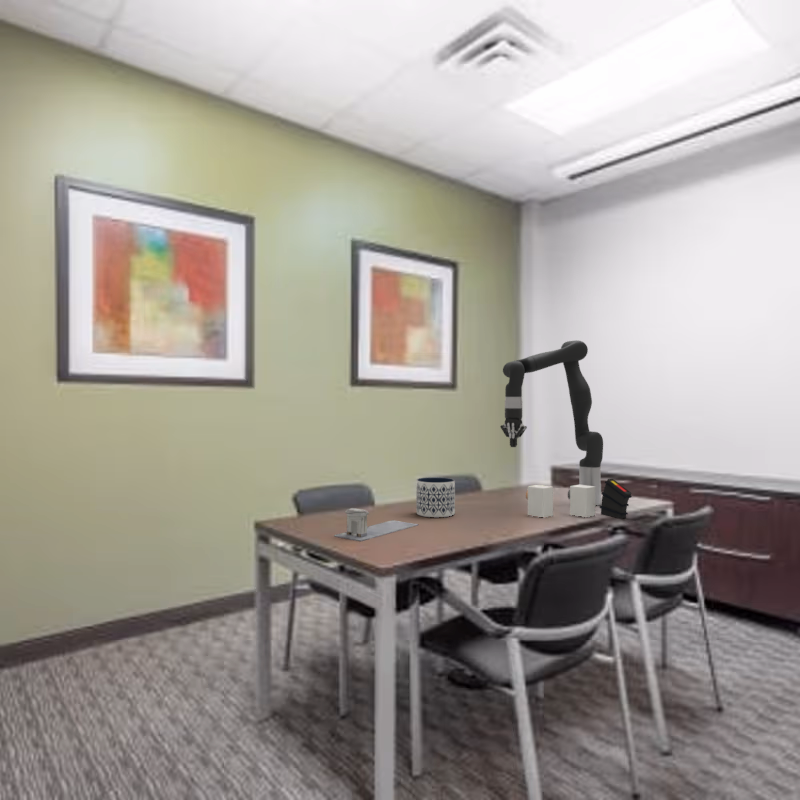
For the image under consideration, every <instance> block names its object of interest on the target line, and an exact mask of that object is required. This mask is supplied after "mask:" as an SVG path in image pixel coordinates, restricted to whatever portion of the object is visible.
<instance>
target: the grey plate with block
mask: <svg viewBox="0 0 800 800" xmlns="http://www.w3.org/2000/svg"><path fill="white" fill-rule="evenodd" d="M344 513H345V514H346V531H345V532H342V533H337V534H334V535H333V537H336V538H341V539H346V540H351V541H355V542H361V543H362V542H365V541H369V540H372V539H375V538H379V537H382V536H386V535H389V534H393V533H396V532H400V531H403V530H406V529H410V528H413V526H414V527H417V526H419V524H418V523H411V522H406V521H399V520H395V519H392V520H388V521H384V522H381V523H377V524H373V525H369V526H368V515H369V511H368V510H367V509H363V508H355V507H351V508H346V510H345V511H344Z"/></svg>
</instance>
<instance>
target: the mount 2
mask: <svg viewBox="0 0 800 800" xmlns="http://www.w3.org/2000/svg"><path fill="white" fill-rule="evenodd" d="M569 490H570V499H569V516H572V515H575V516H574V517H578V516H582V517H581V518H584V517H588V518H591V517H590V516H592V517H595V516H596V506H595V486H587V485H579V484H574V485H570V486H569ZM594 515H595V516H594Z"/></svg>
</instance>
